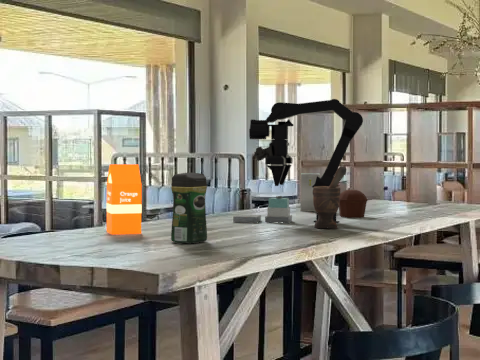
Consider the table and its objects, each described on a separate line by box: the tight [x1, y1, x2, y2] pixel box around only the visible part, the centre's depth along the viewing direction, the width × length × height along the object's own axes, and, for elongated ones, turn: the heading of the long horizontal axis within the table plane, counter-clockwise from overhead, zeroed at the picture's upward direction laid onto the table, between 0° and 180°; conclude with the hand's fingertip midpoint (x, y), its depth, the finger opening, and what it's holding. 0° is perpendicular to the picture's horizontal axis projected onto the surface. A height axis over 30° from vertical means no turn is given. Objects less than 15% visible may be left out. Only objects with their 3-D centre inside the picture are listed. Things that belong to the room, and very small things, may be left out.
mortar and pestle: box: [313, 165, 347, 230], centre depth 249 cm, size 12×9×20 cm
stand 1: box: [232, 214, 262, 224], centre depth 268 cm, size 8×8×2 cm
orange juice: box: [106, 163, 143, 235], centre depth 230 cm, size 8×9×20 cm
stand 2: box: [264, 214, 293, 224], centre depth 269 cm, size 8×8×2 cm
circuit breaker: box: [299, 172, 321, 212], centre depth 320 cm, size 8×14×15 cm, turn 174°
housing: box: [266, 195, 291, 217], centre depth 269 cm, size 7×5×7 cm
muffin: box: [338, 189, 369, 219], centre depth 292 cm, size 12×11×10 cm
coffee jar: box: [170, 172, 208, 245], centre depth 209 cm, size 10×8×19 cm
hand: (279, 185), depth 269 cm, fingers open, 9 cm apart
